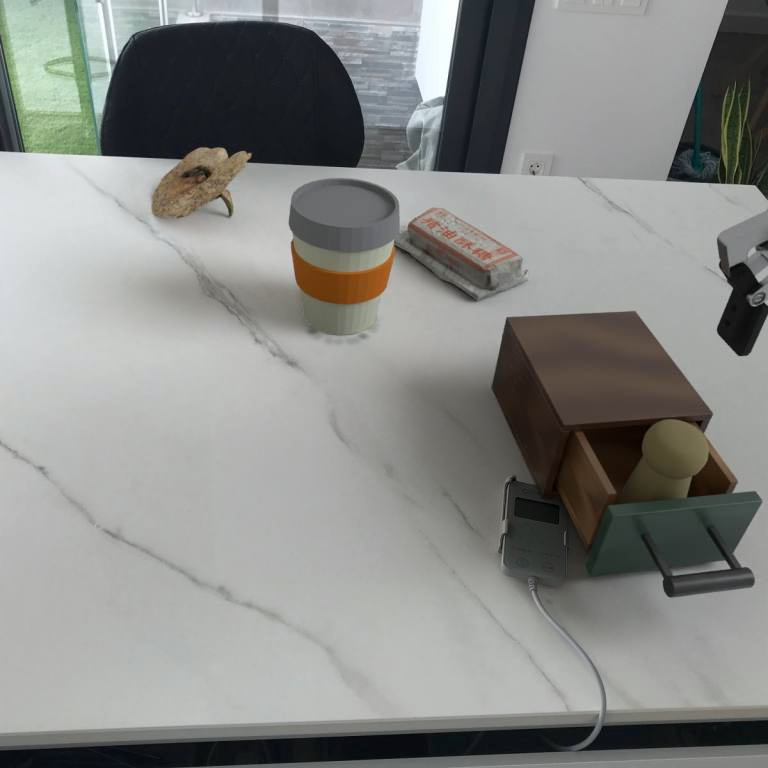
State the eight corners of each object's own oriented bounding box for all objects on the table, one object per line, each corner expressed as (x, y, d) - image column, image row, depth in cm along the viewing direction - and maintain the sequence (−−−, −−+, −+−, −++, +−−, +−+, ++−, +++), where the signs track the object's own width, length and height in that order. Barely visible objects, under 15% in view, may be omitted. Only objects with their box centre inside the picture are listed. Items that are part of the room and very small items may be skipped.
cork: (635, 487, 73) (671, 399, 66) (690, 527, 70) (734, 439, 63) (595, 516, 70) (629, 426, 63) (650, 559, 67) (693, 470, 60)
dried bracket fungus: (148, 244, 117) (119, 199, 112) (211, 191, 124) (186, 147, 119) (220, 246, 105) (191, 197, 101) (286, 188, 112) (261, 140, 108)
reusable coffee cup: (371, 280, 102) (379, 173, 92) (405, 335, 93) (418, 222, 83) (277, 292, 98) (276, 181, 88) (304, 351, 89) (305, 234, 79)
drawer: (766, 616, 64) (805, 557, 59) (617, 636, 62) (645, 576, 57) (651, 439, 80) (675, 381, 75) (529, 449, 78) (545, 390, 73)
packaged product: (537, 250, 101) (483, 272, 96) (529, 282, 104) (477, 304, 99) (445, 196, 112) (391, 212, 106) (440, 226, 115) (388, 244, 109)
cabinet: (680, 485, 77) (713, 413, 71) (541, 499, 74) (564, 425, 68) (611, 379, 89) (635, 310, 83) (491, 387, 86) (506, 316, 80)
